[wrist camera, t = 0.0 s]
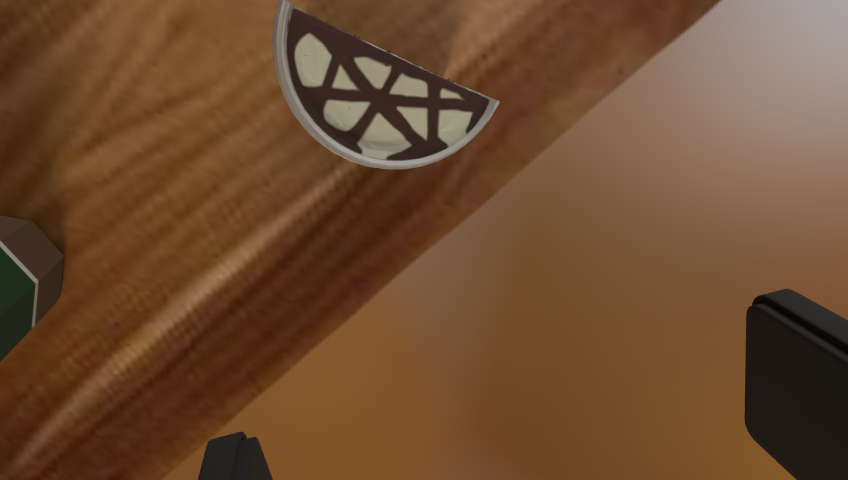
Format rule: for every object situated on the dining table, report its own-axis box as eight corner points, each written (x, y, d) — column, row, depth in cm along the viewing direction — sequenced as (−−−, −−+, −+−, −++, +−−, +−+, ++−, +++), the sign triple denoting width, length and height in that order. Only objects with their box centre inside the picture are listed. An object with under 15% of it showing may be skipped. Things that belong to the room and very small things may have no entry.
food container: (252, 98, 38) (232, 121, 28) (286, 4, 36) (276, -4, 27) (425, 170, 41) (457, 211, 32) (463, 87, 40) (508, 105, 30)
